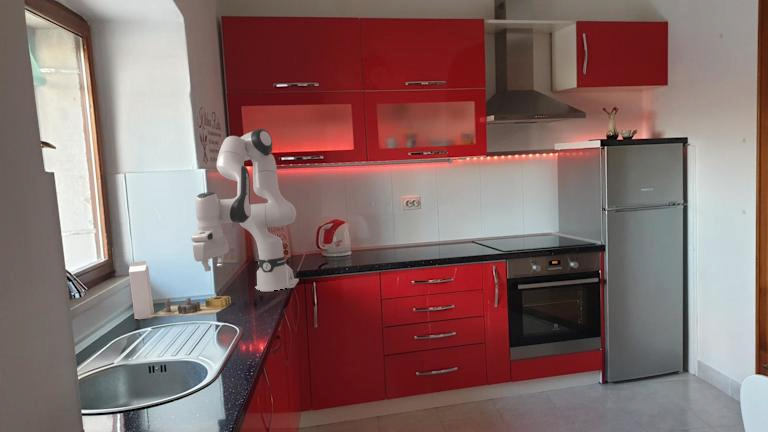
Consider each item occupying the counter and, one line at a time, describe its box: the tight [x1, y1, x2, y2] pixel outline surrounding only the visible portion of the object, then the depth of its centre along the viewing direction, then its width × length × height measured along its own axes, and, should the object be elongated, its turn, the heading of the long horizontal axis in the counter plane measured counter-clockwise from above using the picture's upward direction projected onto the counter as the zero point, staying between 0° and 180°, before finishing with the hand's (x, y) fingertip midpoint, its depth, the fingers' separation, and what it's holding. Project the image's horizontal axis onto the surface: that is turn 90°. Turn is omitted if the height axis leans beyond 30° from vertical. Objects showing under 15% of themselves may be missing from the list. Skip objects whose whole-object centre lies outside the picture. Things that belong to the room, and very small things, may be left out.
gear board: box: [147, 297, 232, 319], centre depth 201 cm, size 15×27×6 cm, turn 79°
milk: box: [128, 260, 155, 320], centre depth 201 cm, size 6×6×22 cm
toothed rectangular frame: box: [205, 295, 232, 308], centre depth 204 cm, size 6×8×3 cm
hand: (214, 268), depth 202 cm, fingers open, 8 cm apart
